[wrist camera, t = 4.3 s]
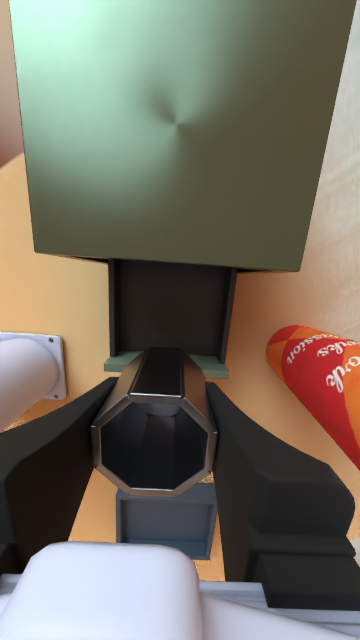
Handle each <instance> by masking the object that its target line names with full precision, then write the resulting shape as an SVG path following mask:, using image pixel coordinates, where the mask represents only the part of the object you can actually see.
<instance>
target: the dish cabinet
mask: <svg viewBox="0 0 360 640" xmlns="http://www.w3.org/2000/svg"><path fill="white" fill-rule="evenodd" d="M356 1H357V0H9V8H10V17H11V27H12V37H13V47H14V56H15V66H16V76H17V85H18V95H19V105H20V115H21V125H22V134H23V144H24V154H25V164H26V173H27V183H28V193H29V203H30V212H31V222H32V232H33V241H34V251H35V252H36V253H41V254H47V255H53V256H59V257H65V258H71V259H77V260H83V261H89V262H95V263H101V264H108V259H118V260H132V261H145V262H159V263H173V264H186V265H200V266H214V267H227V268H238V269H237V274H257V273H282V272H299V271H300V268H301V263H302V258H303V253H304V249H305V244H306V239H307V234H308V230H309V225H310V220H311V215H312V210H313V206H314V201H315V196H316V191H317V187H318V182H319V177H320V172H321V168H322V163H323V158H324V153H325V149H326V144H327V139H328V134H329V130H330V125H331V120H332V115H333V110H334V106H335V101H336V96H337V91H338V87H339V82H340V77H341V72H342V68H343V63H344V58H345V53H346V49H347V44H348V39H349V34H350V30H351V25H352V20H353V15H354V10H355V6H356Z"/></svg>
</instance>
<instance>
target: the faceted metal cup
mask: <svg viewBox="0 0 360 640" xmlns="http://www.w3.org/2000/svg"><path fill="white" fill-rule="evenodd" d="M217 436H218V432H217V427H216V423H215V419H214V415H213V411H212V407H211V403H210V399H209V396H208V392H207V388H206V384H205V379H204V375H203V372H202V369H201V368H200V367H199V366H198V365H197V364H196V363H195V362H194V361H193V360H192V359H191V358H190V356H189V355H188V354H187V353H186V352H185V351H184V350H181V348H167V347H150V348H146V349H145V350H144V351H143V352H142V353H140V354H139V355H138V356H137V357H136V358H135V359H133V360H132V361H131V362H130V363H129V364H128V365H126V367H125V369H124V370H123V372H122V374H121V375H120V377H119V379H118V380H117V382H116V384H115V385H114V387H113V389H112V390H111V392H110V394H109V396H108V397H107V399H106V401H105V402H104V404H103V406H102V407H101V409H100V411H99V412H98V414H97V416H96V417H95V419H94V421H93V422H92V425H91V443H92V462H93V465H95V469H96V470H97V471H99V472H100V473H101V474H102V475H104V476H105V477H106V478H107V479H109V480H110V481H111V482H112V483H114V484H115V485H116V486H117V487H119V488H120V489H121V490H122V491H124V492H125V493H126V494H127V493H129V492H130V495H139V496H161V497H174V494H175V495H176V496H178V495H180V494H181V493H183V492H184V491H186V490H187V489H189V488H190V487H192V486H193V485H195V484H196V483H197V482H199V481H200V480H202V479H203V478H205V477H206V476H208V475H209V474H211V471H213V466H214V458H215V451H216V443H217Z"/></svg>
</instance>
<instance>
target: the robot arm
mask: <svg viewBox="0 0 360 640" xmlns="http://www.w3.org/2000/svg"><path fill="white" fill-rule="evenodd" d="M51 338H52V339H53V341H52V340H51ZM118 379H119V377H109V378H108V379H106V380H105V381H103V382H102V383H100V384H99V385H97V386H96V387H94V388H93V389H91V390H90V391H88V392H86V393H85V394H83V395H82V396H80V397H78V398H77V399H75V400H73V401H72V402H70V403H68V404H66V405H64V406H63V407H61V408H59V409H57V410H55V411H53V412H51V413H49V414H46V415H44V416H42V417H40V418H37V419H35V420H33V421H30V422H28V423H25V424H23V425H20V426H18V427H15V428H12V429H10V430H7V431H5V430H6V429H7V428H8V427H9V426H10V425H11V424H13V423H14V422H15V421H16V420H17V419H18V418H19V417H20V416H22V415H23V414H24V413H25V412H26V411H27V410H28V409H30V408H31V407H32V406H33V405H34V404H35V403H36V402H38V401H39V400H40V399H51V400H63V399H65V398H66V382H65V370H64V357H63V344H62V338H61V337H60V336H57V335H42V334H27V333H11V332H0V640H360V567H359V566H358V564H357V563H356V561H355V559H354V558H353V557H355V555H356V552H355V549H354V548H353V546H352V544H351V543H350V541H349V540H348V538H347V537H346V535H347V532H348V529H349V527H350V524H351V521H352V519H353V516H354V511H355V502H354V497H353V496H352V494H351V492H350V491H349V489H348V488H347V487H346V486H345V484H344V483H343V482H342V481H341V479H340V478H339V477H338V476H337V474H336V473H335V472H334V471H333V469H332V468H331V467H330V466H329V465H328V464H326V463H324V462H322V461H320V460H318V459H316V458H314V457H312V456H310V455H307V454H305V453H303V452H301V451H300V450H298V449H296V448H294V447H292V446H291V445H289V444H287V443H285V442H284V441H282V440H280V439H279V438H277V437H276V436H274V435H273V434H271V433H270V432H268V431H267V430H265V429H264V428H262V427H261V426H259V425H258V424H257V423H256V422H254V421H253V420H252V419H250V418H249V417H248V416H247V415H246V414H244V413H243V412H242V411H241V410H240V409H239V408H238V407H237V406H236V405H235V404H234V403H233V402H232V401H231V400H230V399H229V398H228V397H227V396H226V395H225V394H224V393H223V392H222V391H221V389H220V388H219V387H218V386H217V385H216V384H215V383H213V382H205V384H206V388H207V392H208V396H209V399H210V403H211V407H212V411H213V415H214V419H215V423H216V427H217V432H218V436H217V443H216V451H215V458H214V466H213V476H214V484H215V491H216V499H217V508H218V516H219V524H220V534H221V543H222V552H223V562H224V572H225V582H223V581H199V577H198V573H197V570H196V566H195V563H194V562H193V561H192V559H191V558H189V557H188V556H187V555H186V554H184V553H183V552H182V551H180V550H179V549H177V548H172V547H168V546H164V545H156V544H130V543H105V542H80V541H68V539H69V536H70V533H71V530H72V527H73V524H74V521H75V518H76V515H77V512H78V509H79V507H80V504H81V501H82V498H83V495H84V493H85V490H86V487H87V485H88V482H89V479H90V477H91V474H92V471H93V469H94V467H95V465H93V462H92V443H91V425H92V422H93V421H94V419H95V417H96V416H97V414H98V412H99V411H100V409H101V407H102V406H103V404H104V402H105V401H106V399H107V397H108V396H109V394H110V392H111V390H112V389H113V387H114V385H115V384H116V382H117V380H118ZM57 395H58V396H57ZM3 431H4V432H3Z"/></svg>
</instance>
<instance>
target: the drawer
mask: <svg viewBox="0 0 360 640" xmlns="http://www.w3.org/2000/svg"><path fill="white" fill-rule="evenodd" d="M237 269H238V268H227V267H214V266H200V265H186V264H173V263H159V262H145V261H132V260H118V259H108V274H109V331H110V357H109V358H108V359H107V361H106V362H105V363H104V371H110V372H123V370H124V369H125V367H126V365H128V364H129V363H130V362H131V361H132V360H133V359H135V358H136V357H137V356H138V355H139V354H140V353H142V352H143V351H144V350H145V349H146V348H150V347H167V348H181V350H184V351H185V352H186V353H187V354H188V355H189V356H190V358H191V359H192V360H193V361H194V362H195V363H196V364H197V365H198V366H199V367H200V368H201V369H202V372H203V375H204V377H206V378H222V379H228V372H229V371H228V369H227V367H226V365H225V358H226V350H227V343H228V336H229V328H230V321H231V314H232V306H233V299H234V291H235V284H236V277H237Z"/></svg>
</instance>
